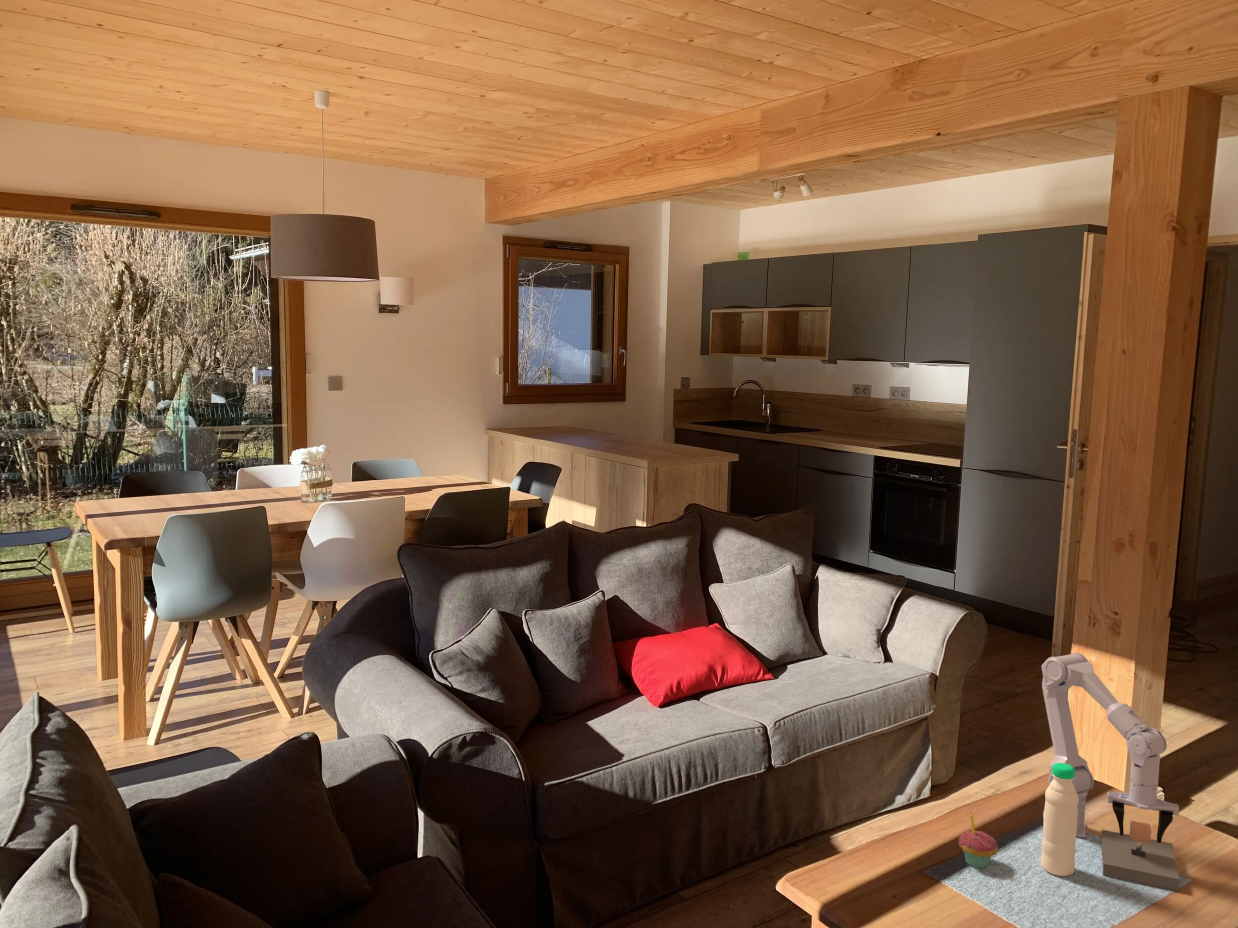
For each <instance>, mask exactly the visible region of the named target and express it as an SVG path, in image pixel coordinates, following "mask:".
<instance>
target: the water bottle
mask: <svg viewBox="0 0 1238 928" xmlns="http://www.w3.org/2000/svg"><path fill="white" fill-rule="evenodd" d="M1052 775H1053V777H1054V779H1053V781H1052V782H1051V783H1050V786H1049V785H1048V787H1047V788H1046V790H1045V793H1044V797H1045V799H1046V801H1044V802H1045V803H1044V810H1043V811H1044V819H1043V823H1042V824H1043V829H1042V830H1043V832H1042V833H1043V837H1042V842H1041V848H1042V849H1041V857H1040V858H1041V859H1040V865H1041V867H1042V869H1043V870H1044V871H1046V872H1048V874H1050V875H1054V876H1057V877H1069V876H1071V875H1073V873H1074V872H1075V865H1076V864H1075V863H1076V861H1075V855H1076V846H1077V845H1076V838H1077V836H1076V832H1077V818H1078V808H1077V805H1078V802H1079V798H1078V795H1077V792H1076V790H1075V787H1074V785H1073V783H1072V780H1073V779H1074V776H1075V769H1074V768H1073V767H1072V766H1071V765H1068V764H1065V763H1055V764H1054V765H1053V767H1052Z"/></svg>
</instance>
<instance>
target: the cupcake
mask: <svg viewBox="0 0 1238 928" xmlns="http://www.w3.org/2000/svg"><path fill="white" fill-rule="evenodd" d="M969 817H970V826H971V827H970V828H971V830H968V831H965V832H963V833H962V834H961V835H960V836H959V837H958V845H959V847H960V848H961V849H962V851H963V854H964V857H965V862H966V863H967V864H968V865H969V866H971V867H975V868H978V869H979V868H980V869H981V868H986V867H987V866H989V863H990V861H991V859H992V857H993V856H995V855H997V854H998V850H999V848H998V843H997V840H995V839H994V837H992V836H991V835H990V834H988V833H986V832H984V831H980V830H975V829H976V828H975V822H974V814H972V811H970V815H969Z"/></svg>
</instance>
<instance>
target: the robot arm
mask: <svg viewBox="0 0 1238 928" xmlns="http://www.w3.org/2000/svg"><path fill="white" fill-rule="evenodd" d="M1040 668H1041V671H1042V682H1041V689H1042V693H1043V694H1042V695H1043V698H1044V699H1043V700H1044V705H1045V710H1046V715H1047V721H1048V725H1049V731H1050V737H1051V741H1052V746H1053V752H1054V757H1053V759H1052V760H1051V762H1050V763H1049V765H1048V771H1049V774H1048V781H1047V782H1048V787H1049V786H1050V783H1051V782H1052V781H1053V779H1054V777H1053V775H1052V767H1053V765H1054V764H1055V763H1065V764H1068V765H1071V766H1072V767H1073V768H1074V769H1075V776H1074V779H1073V780H1072V783H1073V785H1074V787H1075V790H1076V792H1077V795H1078V798H1079V802H1078V805H1077V808H1078V818H1077V832H1076V838H1077V837H1078V838H1084V839H1085V838H1086V837H1087V836H1086V835H1087V834H1086V833H1087V832H1086V830H1087V829H1086V828H1087V827H1086V822H1085V820H1086V817H1085V815H1086V814H1085V813H1086V805H1087V804H1086V803H1087V802H1086V801H1087V796H1088V793H1089V792H1088V791H1090V790H1092V789H1093V787H1094V783H1095V782H1094V781H1095V780H1094V779H1095V778H1094V776H1093V774H1092V772H1091V770H1090V769H1089V765H1088V761H1087V760H1086V759H1085V758H1083V757H1082V756H1081V755H1080V754H1079V750H1078V745H1077V739H1076V735H1075V729H1074V723H1073V718H1072V714H1071V712H1072V711H1071V708H1070V704H1069V703H1070V702H1069V697H1068V691H1069V690H1070V689H1071V688H1072V686H1073V687H1079V688H1082V689H1083V690H1084V691H1086V693H1087V694H1089V696H1090V697H1091V698H1093V700H1095V702H1097V703H1098V704H1099V705H1100V706H1101V707H1102V708H1103V709H1104V710H1105V711H1106V719H1107V720H1108V721H1109V723H1110V724H1111V725H1112V726H1113V727H1114V728H1115V729H1116V730H1117V731H1118V733H1119V734H1120V735H1121V736H1122V737H1123V738H1124V739H1125V740H1126V747H1127V750H1128V752H1129V754H1130V755H1129V756H1130V757H1129V759H1130V761H1131V762H1130V775H1129V776H1130V777H1129V790H1128V793H1125V792H1123V793H1122V792H1112V791H1107V795H1106V802H1107V804H1108V803H1109V804H1111V805H1112V810H1113V813H1114V815H1115V817H1116V820H1117V823H1118V829H1119V832H1118V833H1120V835H1122V836H1123V834H1124V819H1125V806H1130V807H1136V808H1138V809H1139V810H1145V811H1149V810H1152V811H1155V812H1156V811H1157V812H1158V826H1157V832H1156V840H1157V843H1161V841H1162V839H1163V836H1164V834H1165V832H1166V830H1167V828H1168V827H1169V826H1170V824H1171V823H1172V822H1173V819H1174V816H1176V817H1178V816H1179V810H1180V805H1179V803H1173V802H1169V801H1165V800H1162V799H1159V798H1158V788H1159V778H1160V777H1159V776H1160V775H1159V774H1160V763H1161V762H1160V761H1161V755H1162V754H1163V753H1164V752H1165V751H1166V750H1167V745H1168V744H1167V741H1166V738H1165V736H1164V735H1163V734H1162V732H1161V730H1159V729H1156V728H1153V727H1150V725H1148V724H1147V723H1145V721H1143V720H1142V718H1140V716H1138V714H1137V713H1136V712H1135V709H1134V708H1133V707H1132V706H1131V705H1128V704H1127V703H1121V702H1119V701H1118V700H1117V699H1116V698H1115V696H1114V695H1113V693H1112V692H1111V691H1110V690H1109V688H1108V687H1107V686H1106V685H1105V684H1104V683H1103V682H1102V681H1103V680H1101V679H1100V678H1099V676H1098V675H1097V674H1096V673H1095V670H1094V665H1093V664H1092V663H1091V662H1090V661H1088V659H1087V657H1086V656H1085V655H1083V654H1082V653H1079V652H1073V653H1070V654H1066V655H1060V656H1050V657H1048V658H1047V659H1046V660H1045V661H1044V662H1043V663H1042V664H1041V667H1040ZM1044 800H1045V801H1046V798H1045V799H1044ZM1045 801H1044V802H1045ZM1042 819H1043V820H1044V810H1043V811H1042Z"/></svg>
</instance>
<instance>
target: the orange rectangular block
mask: <svg viewBox="0 0 1238 928" xmlns="http://www.w3.org/2000/svg"><path fill="white" fill-rule="evenodd" d="M1129 824H1130V825H1129V835H1130V840H1133V841H1137V843H1136V851H1137V852H1140V853H1141V852H1142V842H1143V843H1148V844H1150V839H1152V837H1151V836H1152V830H1151V829H1152V828H1151V824H1150V823H1147V822H1141V821H1136V820H1130V823H1129Z"/></svg>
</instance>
